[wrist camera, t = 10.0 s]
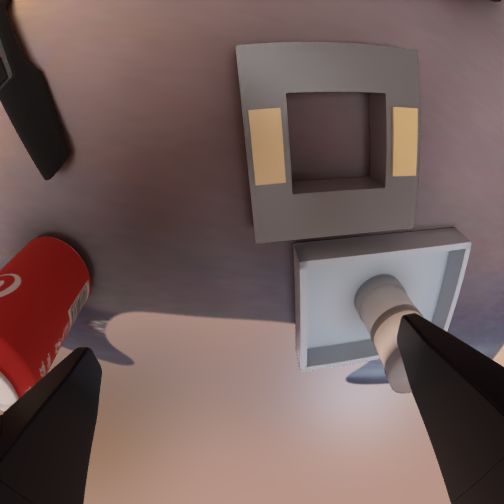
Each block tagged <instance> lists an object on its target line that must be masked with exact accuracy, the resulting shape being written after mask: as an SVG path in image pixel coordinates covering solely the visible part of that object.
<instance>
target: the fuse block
mask: <svg viewBox="0 0 504 504" xmlns="http://www.w3.org/2000/svg"><path fill="white" fill-rule="evenodd" d="M235 48H236V59H237V69H238V78H239V88H240V98H241V107H242V117H243V126H244V136H245V146H246V156H247V165H248V175H249V185H250V195H251V205H252V215H253V225H254V234H255V242H256V244H259V243H269V242H279V241H288V240H298V239H308V238H318V237H329V236H339V235H349V234H359V233H370V232H380V231H391V230H401V229H412V228H414V220H415V211H416V201H417V189H418V175H419V156H420V83H419V65H418V52H417V50H413V49H406V48H399V47H391V46H382V45H371V44H359V43H342V42H275V43H257V44H245V45H235ZM296 92H369V115H370V177H351V178H334V179H318V180H305V181H292V175H291V159H290V143H289V129H288V116H287V104H286V93H296Z"/></svg>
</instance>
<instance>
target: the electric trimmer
mask: <svg viewBox="0 0 504 504" xmlns="http://www.w3.org/2000/svg"><path fill="white" fill-rule="evenodd" d="M10 1H11V0H0V101H1V103H2V105H3V107H4V109H5V111H6V113H7V115H8V116H9V118H10V120H11V122H12V124H13V126H14V128H15V130H16V132H17V133H18V135H19V137H20V139H21V141H22V142H23V144H24V146H25V148H26V149H27V151H28V153H29V155H30V156H31V158H32V160H33V161H34V163H35V165H36V166H37V168H38V170H39V171H40V173H41V175H42V176H43V178H44V179H45V180H49V179H51V178H52V177H53V176H54V175H55V173H56V172H57V171H58V170H59V169H60V167H61V166H62V165H63V163H64V162H65V160H66V159H67V157H68V156H69V153H70V150H69V147H68V144H67V141H66V139H65V136H64V134H63V131H62V128H61V126H60V123H59V120H58V118H57V115H56V112H55V109H54V106H53V103H52V101H51V98H50V95H49V92H48V89H47V86H46V83H45V81H44V78H43V75H42V73H41V72H40V70H38V69H37V68H35V67H34V66H32V65H31V64H30V63H29V62H28V61H27V60H26V58H25V56H24V53H23V51H22V49H21V46H20V44H19V41H18V39H17V36H16V34H15V31H14V28H13V26H12V23H11V20H10V18H9V15H8V12H7V8H6V7H7V5H8V4H9V2H10Z"/></svg>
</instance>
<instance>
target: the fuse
mask: <svg viewBox="0 0 504 504" xmlns="http://www.w3.org/2000/svg"><path fill="white" fill-rule="evenodd" d="M354 305H355V308H356V310H357V312H358V315H359V317H360V319H361V320H362V321H363V322H364V324H365V326H366V328H367V330H368V333H369V335H370V338H371V341H372V343H373V345H374V347H375V349H376V350H377V352H378V354H379V357H380V359H381V361H382V363H383V365H384V371H385V374H386V376H387V379H388V381H389V383H390V386H391V388H392V389H393V390H394V391H395V392H397V393H410V392H412V391H411V388H410V385H409V382H408V378H407V375H406V371H405V368H404V364H403V361H402V357H401V354H400V351H399V348H398V344H397V334H398V329H399V325H400V320H401V317H402V316H403V315H406V314H411V313H416V314H418V315H420V316H422V314H421V313H420V311H419V310H418V309H417V308H416V307H415V305H414V304H413V302H412V301H411V299H410V298H409V297H408V295H407V293H406V290H405V289H404V287H403V286H402V284H401V283H400V282H399V280H398V279H397V278H396V277H394V276H392V275H389V274H380V275H376V276H374V277H371V278H370V279H368V280H367V281H365V282H364V283H363V284H362V285H361V286H360V287H359V289H358V290H357V292H356V294H355V298H354ZM422 317H423V316H422Z"/></svg>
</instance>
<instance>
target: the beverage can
mask: <svg viewBox="0 0 504 504" xmlns="http://www.w3.org/2000/svg"><path fill="white" fill-rule="evenodd" d="M90 291H91V280H90V275H89V272H88V269H87V267H86V265H85V263H84V261H83V260H82V258H81V257H80V255H79V254H78V253H77V252H76V251H75V250H74V249H73V248H72V247H71V246H69V245H68V244H66V243H65V242H63V241H61V240H59V239H56V238H53V237H38V238H35V239H33V240H32V241H31V242H29V243H28V244H27V245H26V246H25V247H24V248H23V249H22V250H21V251H20V252H19V253H18V254H17V255H16V256H15V257H14V258H13V259H12V260H11V261H10V262H9V263H8V264H7V265H6V266H5V267H4V268H3V269H2V270H1V271H0V410H2V411H6V410H7V409H8V408H9V407H10V406H11V405H12V404H14V403H15V402H16V401H17V400H18V399H19V398H20V397H21V396H22V395H24V394H25V393H26V392H27V391H28V390H29V389H30V388H31V387H33V386H34V385H35V384H36V383H37V382H38V381H39V380H41V379H42V378H43V377H44V376H45V375H46V374H47V373H48V371H49V368H50V367H51V364H52V363H53V361H54V359H55V357H56V355H57V353H58V351H59V349H60V347H61V345H62V343H63V341H64V340H65V338H66V336H67V334H68V332H69V330H70V329H71V327H72V325H73V323H74V321H75V320H76V318H77V316H78V314H79V313H80V311H81V309H82V307H83V306H84V304H85V302H86V301H87V299H88V297H89V294H90Z"/></svg>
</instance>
